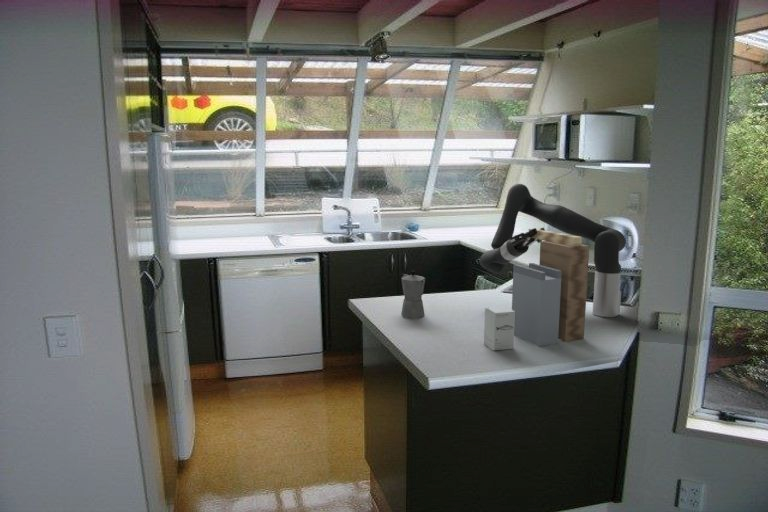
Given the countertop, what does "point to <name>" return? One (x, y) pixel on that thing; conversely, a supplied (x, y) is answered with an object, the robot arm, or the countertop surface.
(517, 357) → the countertop surface
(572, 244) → the birch bar
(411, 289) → the coffeepot
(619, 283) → the robot arm
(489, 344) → the supplement box
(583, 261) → the walnut pedestal
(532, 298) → the slate grooved rack
